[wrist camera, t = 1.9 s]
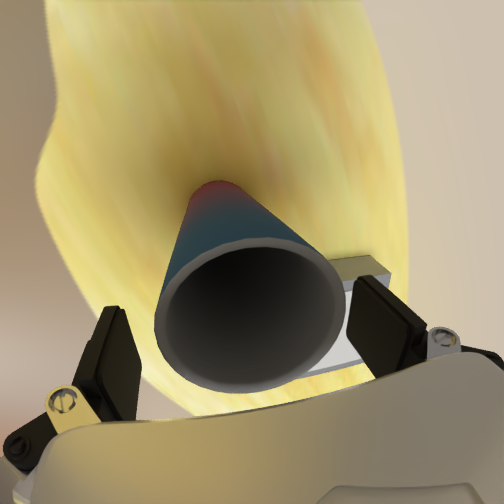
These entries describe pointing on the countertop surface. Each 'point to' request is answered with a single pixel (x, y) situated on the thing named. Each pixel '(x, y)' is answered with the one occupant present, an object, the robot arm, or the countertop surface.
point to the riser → (342, 349)
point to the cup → (244, 297)
